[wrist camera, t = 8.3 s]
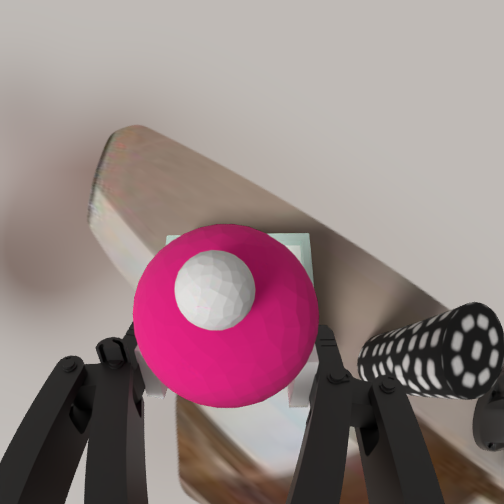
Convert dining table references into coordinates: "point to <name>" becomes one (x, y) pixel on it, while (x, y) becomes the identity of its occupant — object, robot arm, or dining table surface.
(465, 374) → the white-spotted black cylinder
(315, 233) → the dining table surface
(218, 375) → the pepper mill
